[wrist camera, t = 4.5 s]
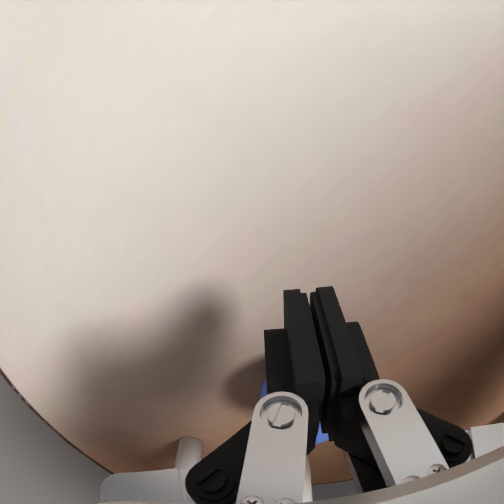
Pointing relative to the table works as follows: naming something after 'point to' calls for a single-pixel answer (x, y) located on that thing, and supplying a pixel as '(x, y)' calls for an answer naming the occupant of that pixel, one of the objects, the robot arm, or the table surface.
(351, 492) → the stopper wall
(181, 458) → the grey pin
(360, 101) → the table surface
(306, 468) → the white pin
